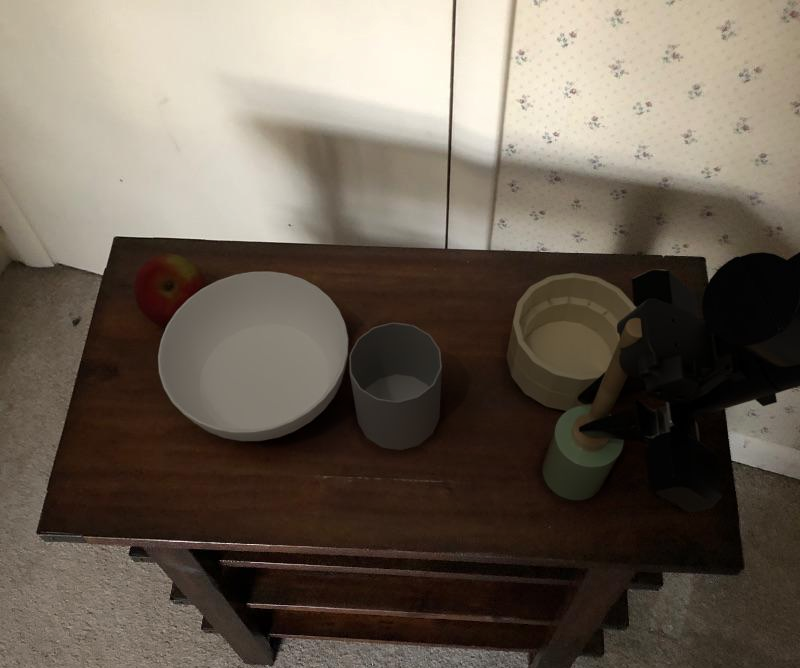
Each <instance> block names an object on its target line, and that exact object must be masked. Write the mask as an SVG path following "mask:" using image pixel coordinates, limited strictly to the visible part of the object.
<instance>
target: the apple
mask: <svg viewBox="0 0 800 668" xmlns="http://www.w3.org/2000/svg"><path fill="white" fill-rule="evenodd" d="M206 286H208V282H207V278H206V276H205V274H204V272H203V271H202V269H201V268H200V267H199V266H198V265H197V264H196V263H194V261H192V260H190V259H189V258H186V257H184V256H181V255H179V254H174V253H161V254H158V255H156V256H153V257H152V258H150V259H148V260H146V261H145V262H144V263H143V264H142V266H140V268H139V269H138V271H137V274H136V276H135V279H134V286H133V287H134V289H133V290H134V299H135V303H136V304H137V307H138V309H139V310H140V311H141V313H142V314H143V315H144V316H145V317H146V318H147V319H148V320H150V321H151V322H152V323H154V324H155V325H157V326H159V327H160V328H165V329H166V327H167V325H168V323H169V322H170V320H171V319H172V317H173V316H174V314H175V313H176V311H177V310H178V309H179V308H180V307H181V306H182V305H183V304H184V303H185V302H186V301H187V300H188V299H189V298H190V297H192V296H193V295H194V294H196V293H197V292H198V291H200V290H201V289H203V288H205V287H206Z"/></svg>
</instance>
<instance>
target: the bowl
mask: <svg viewBox="0 0 800 668" xmlns="http://www.w3.org/2000/svg"><path fill="white" fill-rule="evenodd" d="M159 343H160V344H159V348H158V355H157V363H158V375H159V378H160V382H161V384H162V388H163V390H164V392H165V393H166V395H167V397H168V398H169V400H170V402H171V403H172V405H174V407H176V408H177V409H178V410H179V411H180V412H181V413H182V415H184V416H185V417H186V418H188V419H189V420H190V421H191V422H193V423H194V424H195V425H197V426H199V427H200V428H201V429H203V430H205V431H206V432H208V433H209V434H211V435H215V436H217V437H220V438H223V439H226V440H227V439H228V440H232V441H237V442H238V441H239V442H262V441H268V440H272V439H278V438H281V437H283V436H287V435H288V434H291V433H294V432H296V431H297V430H299V429H301V428H303V427H305V426H306V425H307V424H310V423H311V422H312V421H314V420H315V419H316V418H317V417H318V416H319V415H320V414H322V413H323V412H324V411H325V410H326V408H327V407H328V406H329V404H330V403H332V401H333V399H334V398H335V396H336V394H337V393H338V390H339V389H340V387H341V385H342V382H343V379H344V374H345V370H346V366H347V361H348V358H349V357H348V356H349V335H348V329H347V324H346V322H345V320H344V318H343V316H342V313H341V311H340V309H339V307H338V306H337V305H336V304H335V303H334V301H333V300H332V299H331V297H330V296H329V295H327V294H326V293H325V292H324V291H323V290H322V289H321V288H319V287H318V286H317V285H315V284H313V283H311V282H309V281H307V280H305V279H304V278H300V277H298V276H294V275H292V274H289V273H283V272H277V271H249V272H248V271H247V272H242V273H237V274H233V275H230V276H228V277H225V278H221V279H218V280H216V281H214V282H212V283H210V284H207V286H206V287H205V288H203V289H201V290H200V291H198V292H197V293H196V294H194V295H193V296H192V297H190V298H189V299H188V300H187V301H186V302H185V303H184V304H183V305H182V306H181V307H180V308H179V309H178V310H177V311H176V313H175V314H174V316H173V317H172V319H171V320H170V322H169V323H168V325H167V327H166V328H165V329H164V332H163V334H162V337H161V339H160V342H159Z"/></svg>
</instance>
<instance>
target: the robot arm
mask: <svg viewBox="0 0 800 668" xmlns="http://www.w3.org/2000/svg"><path fill="white" fill-rule="evenodd" d="M631 289H632V300H633V302H632V303H633V304H634V306H635V307H636V309H634V310H633V311H632V312H631V313H629V314H628V315H627V316H625V317H624V318H623V319H622V320H620V321H619V322H618V324H617V333H618V334H619V337H621V335H622V332H623V330H624V328H625V325H626V323H627V322H628V321H629V320H630V319H633V318H640V319H641V331H642V337H641V338H640V339H639V340H638V341H636V342H635V343H633V344H632V345H630V346H627V347H624V348H621V347H620V351H621V352H620V356H619V362H620V366H621V368H622V370H623V371H624V372H625V373H626V374H627V375H628V377H627V379H626V381H625V383H624V385H623V388H622V390H621V392H620V394H619V396H618V398H622V397H623V398H624V397H627V396H630V395H634V394H637V393H641V392H645V394H646V396H648V397H649V398H653V399H656V400H659V401H662V402H664V406H661V407H659V408H654V409H653V408H651V407H650V406H648V404H646V403H644V402H643V401H641V400H640V399H638V398H636V399H635V400H634V402H632V405H631V406H630V408H629V409H627V410H625V411H621V412H618V413H615V414H611V416H607V417H604V418H601V419H597V420H594V421H591V422H589V423H587V424H584V425H582V426H580V427H579V432H580V433H582V434H584V435H586V436H594V437H602V438H611V439H619V440H624V441H629V442H636V443H640V444H645V445H647V447H646V448H645V452H646V464H647V465H646V466H647V477H648V484H649V485H650V487H651V489H652V491H653V493H655V494H656V495H658V496H660V497H661V498H664V499H665V500H667V501H669V502H671V503H673V504H674V505H676V506H677V507H679V508H681V509H683V510H685V511H686V512H688V513H690V514H691V513H696V512H701V511H705V510H709V509H712V508H713V507H714V506H715V505H716V504H717V503H718V502H719V501H720V500H721V499H722V498H723V495H724V494H723V488H722V481H721V479H722V478H721V472H720V464H719V458H718V453H717V452H715V450H712V449H711V448H710V447H708V446H707V445H706V444H704V443H702V442H701V438H700V437H701V436H700V430H699V425H698V422H697V421H696V418H699V417H702V418H703V419H704V420H706V421H707V422H708V423H711V422H714V421H718V420H721V419H722V418H723V417H722V416H723V415H722V410H725V409H729V408H732V407H736V406H739V405H742V404H745V403H749V402H753V401H756V402H757V403H758V404H759V405H760V406H762V407H765V406H769V405H773V404H777V403H778V399H777V394H779V393H782V392H785V391H788V390H791V389H796V388H798V387H800V251H799V252H797V253H796V254H794V255H792V256H791V257H789V258H787V259H785V258H784V257H783V256H780V255H777V254H775V253H769V252H763V251H761V252H750V253H747V254H745V255H741V256H734V257H732V258H731V259H730V260H728V261H727V262H725V263H724V264H722V265H721V267H719V268H718V269H717V270H716V272H715V273H714V274H713V275H712V277H711V278H710V279H709V281H708V283H707V285H706V287H705V289H704V293H703V296H702V299H701V300H702V302H701V312H702V316H703V317H700V315H699V307H698V300H697V295H696V294H695V293H694V292H693V291H691V290H690V288H688V287H687V286H686V285H685V284H684V282H682V281H681V280H679V279H678V278H677V277H676V276H675V274H674V273H672V272H671V271H670V270H667V269H663V268H651V269H649V270H647V271H644V272H643V273H640V274H638V275H636V276H634V277H633V278H631ZM605 373H606V372H605ZM605 373H603V374H602V375H601V376H600V377H599V378H598V379H596V380H595V381H594V382H593V383H592V384H591V385H590V386H588V387H587V388H586V389H585V390H584V391H583V392H582V393H580V394H579V395H578V401H579V402H581V403H582V404H592V403H593V402H594V399H595V397H596V394H597V392H598V390H599V387H600V385H601V382H602V380H603V378H604V375H605ZM618 398H617V399H618Z"/></svg>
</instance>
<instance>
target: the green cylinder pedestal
mask: <svg viewBox="0 0 800 668" xmlns="http://www.w3.org/2000/svg"><path fill="white" fill-rule="evenodd" d="M590 409H591V406H578V407H574V408H572V409H570V410H568V411H565V412H564V413H562V415H561V416H560V417H559V418H558V420H557V422H556V424H555V427H554V430H553V433H552V435H551V438H550V440H549V444H548V447H547V450H546V452H545V456H544V459H543V462H542V467H541V469H542V470H541V471H542V476H543V479H544V482H545V484H546V485H547V487H548V488H549V489H550V491H552V492H553V493H554V494H555V495H557V496H559V497H561V498H563V499H566V500H569V501H583V500H587V499H589V498H592V497H594V496H595V495H597V493H598V492H599V491H600V490H601V489H602V487H603V485H604V483H605V482H606V479H607V478H608V476H609V475H610V472H611V470H612V469H613V467H614V465H615V463H616V462H617V460H618V458H619V456H620V455H621V453H622V451H623V448H624V445H625V440H619V439H611V438H609V439H608V441H607V443H606V445H605V446H604V447H603V448H602V449H601V450H598V451H595V452H588V451H584V450H582V449H580V448H579V447H577V446H576V445H575V443H574V442H573V440H572V437H571V430H572V427H573V425H574V422H575V421H576V419H577V418H578V417H580V416H581V415H584V414H588V413H589V411H590ZM611 415H612V414H611V413H610V415H609V416H611Z"/></svg>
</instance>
